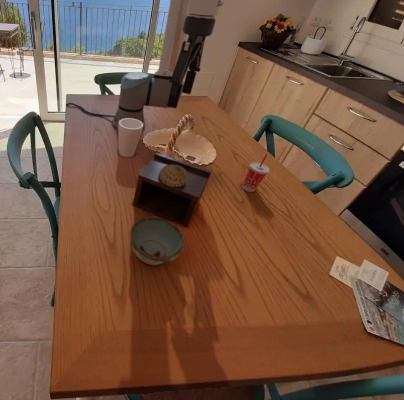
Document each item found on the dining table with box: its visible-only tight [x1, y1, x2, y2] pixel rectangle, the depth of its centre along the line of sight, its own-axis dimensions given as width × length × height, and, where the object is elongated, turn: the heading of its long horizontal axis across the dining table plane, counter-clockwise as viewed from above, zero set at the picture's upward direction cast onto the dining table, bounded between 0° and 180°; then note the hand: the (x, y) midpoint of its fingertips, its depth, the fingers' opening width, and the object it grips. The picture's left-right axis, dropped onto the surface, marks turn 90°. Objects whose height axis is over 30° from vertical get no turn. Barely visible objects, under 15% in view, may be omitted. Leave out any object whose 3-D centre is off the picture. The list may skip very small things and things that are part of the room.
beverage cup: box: [241, 153, 270, 193], centre depth 92 cm, size 6×6×14 cm
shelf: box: [132, 152, 212, 228], centre depth 83 cm, size 18×13×13 cm
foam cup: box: [117, 118, 144, 158], centre depth 106 cm, size 10×9×13 cm
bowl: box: [129, 216, 186, 267], centre depth 69 cm, size 14×13×8 cm
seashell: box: [159, 165, 188, 187], centre depth 78 cm, size 8×6×8 cm
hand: (179, 99), depth 81 cm, fingers open, 13 cm apart
